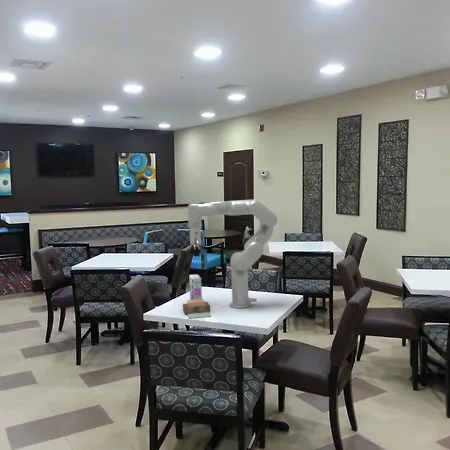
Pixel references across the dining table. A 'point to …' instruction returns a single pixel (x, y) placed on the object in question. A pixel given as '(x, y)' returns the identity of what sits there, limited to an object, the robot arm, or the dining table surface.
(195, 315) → the mat
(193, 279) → the candy box
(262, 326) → the dining table surface
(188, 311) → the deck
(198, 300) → the tile
